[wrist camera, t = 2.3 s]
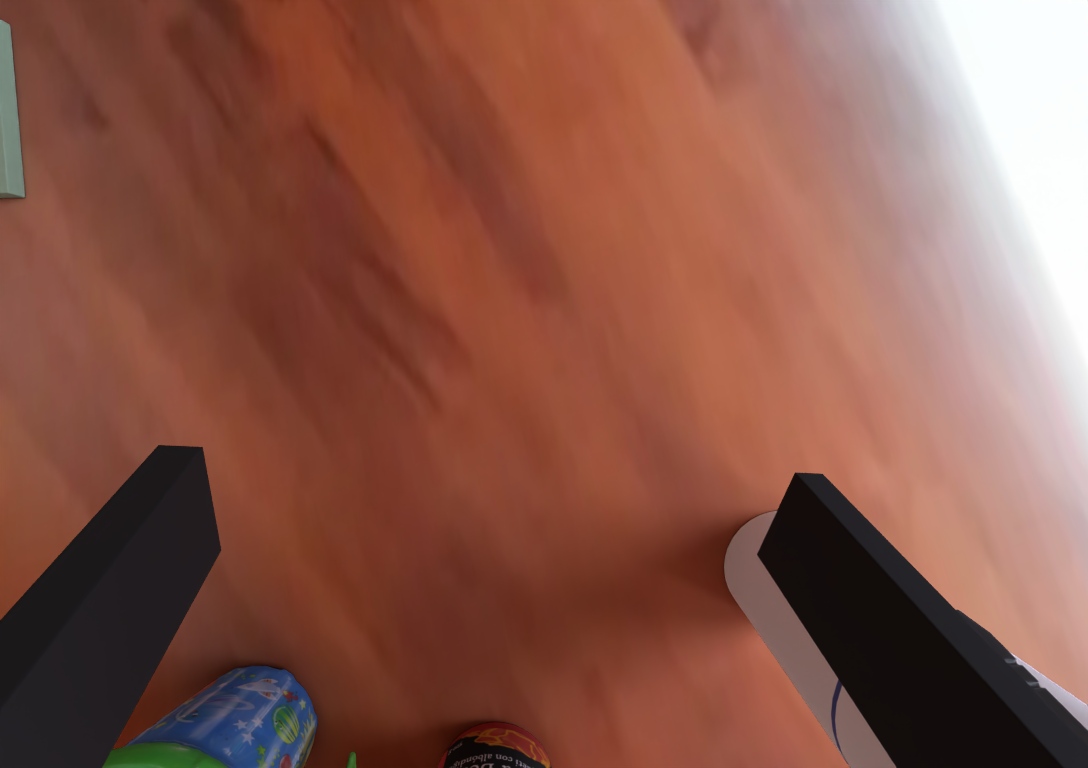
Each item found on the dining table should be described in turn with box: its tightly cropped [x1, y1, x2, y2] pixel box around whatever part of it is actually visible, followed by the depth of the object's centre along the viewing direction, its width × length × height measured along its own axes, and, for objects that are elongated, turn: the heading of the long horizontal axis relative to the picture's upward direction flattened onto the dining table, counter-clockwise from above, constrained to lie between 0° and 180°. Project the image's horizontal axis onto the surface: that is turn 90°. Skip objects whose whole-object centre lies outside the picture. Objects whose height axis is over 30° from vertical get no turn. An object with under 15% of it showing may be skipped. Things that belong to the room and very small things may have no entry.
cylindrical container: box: [724, 511, 1088, 768], centre depth 19 cm, size 7×7×25 cm
